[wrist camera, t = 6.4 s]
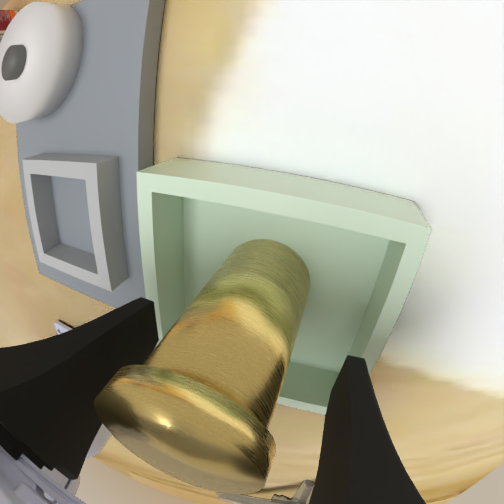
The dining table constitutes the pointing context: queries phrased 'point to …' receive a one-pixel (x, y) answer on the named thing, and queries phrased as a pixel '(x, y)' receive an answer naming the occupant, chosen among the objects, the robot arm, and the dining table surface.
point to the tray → (298, 239)
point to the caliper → (298, 500)
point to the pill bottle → (5, 20)
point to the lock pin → (216, 375)
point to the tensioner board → (84, 135)
